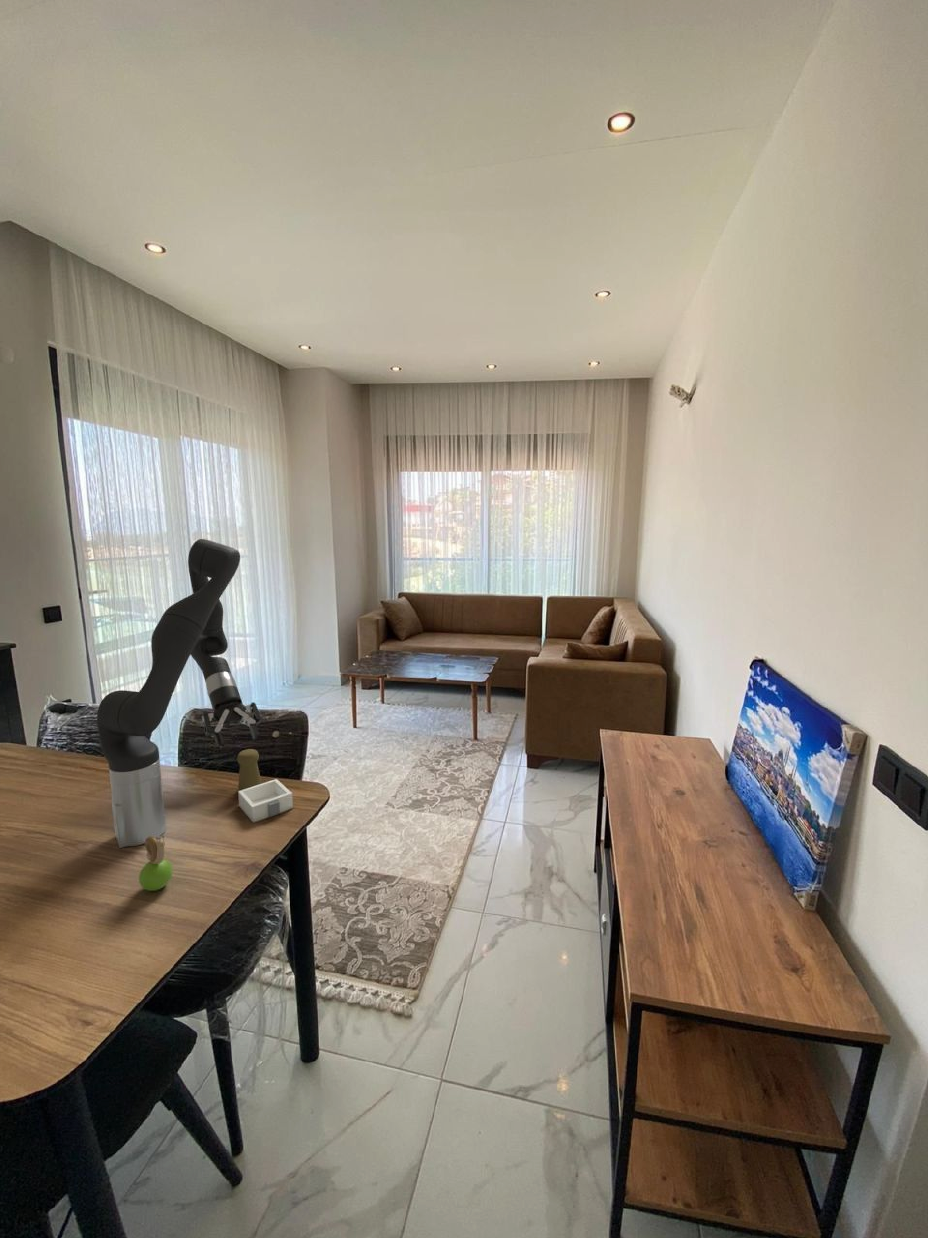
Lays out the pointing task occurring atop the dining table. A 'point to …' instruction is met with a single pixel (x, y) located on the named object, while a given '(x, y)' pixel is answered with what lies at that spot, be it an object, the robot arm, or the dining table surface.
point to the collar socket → (265, 800)
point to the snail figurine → (155, 865)
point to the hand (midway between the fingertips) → (239, 742)
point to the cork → (248, 769)
